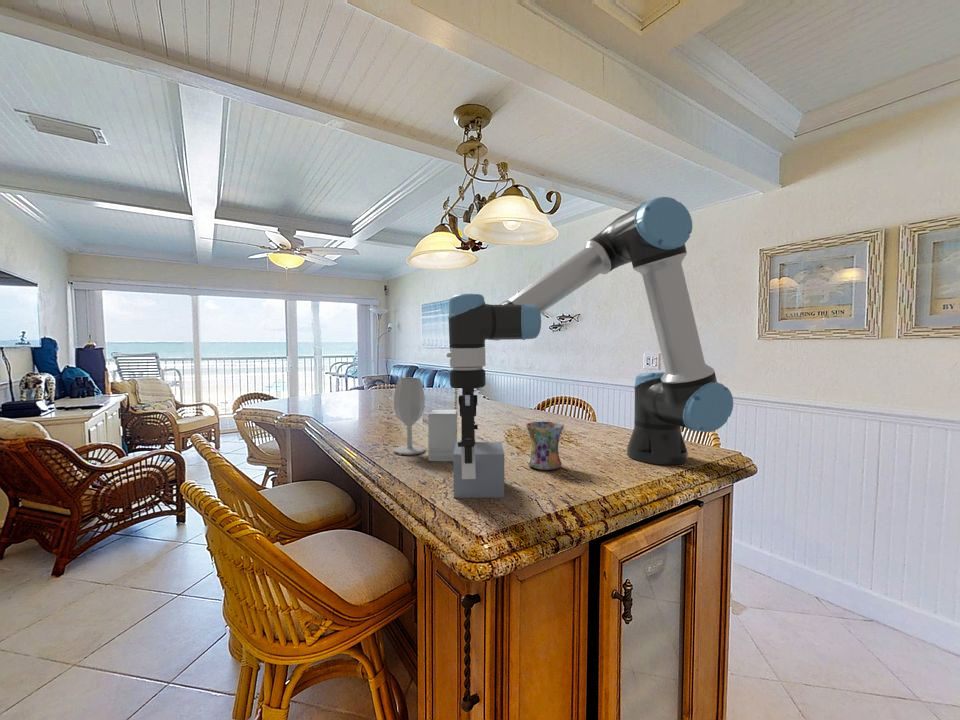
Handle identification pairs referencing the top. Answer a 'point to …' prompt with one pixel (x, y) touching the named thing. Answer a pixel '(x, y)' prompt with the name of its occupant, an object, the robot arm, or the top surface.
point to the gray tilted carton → (481, 472)
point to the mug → (544, 444)
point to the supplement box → (442, 435)
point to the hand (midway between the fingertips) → (469, 468)
